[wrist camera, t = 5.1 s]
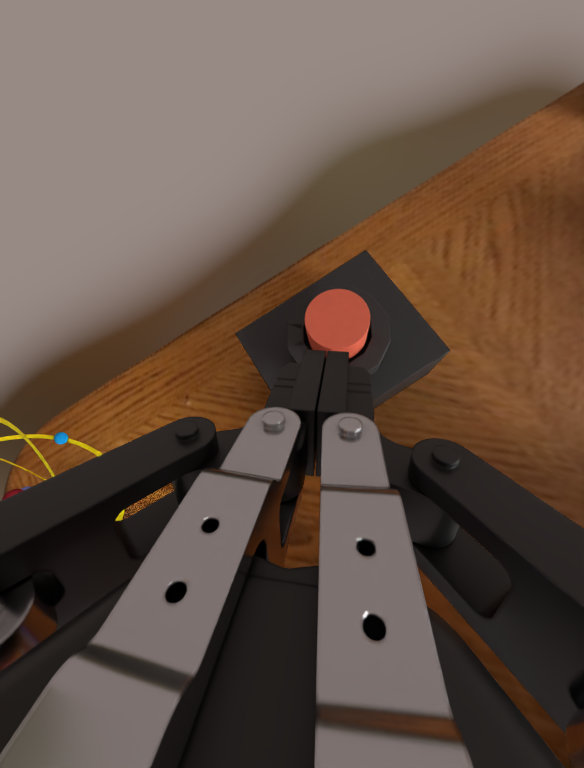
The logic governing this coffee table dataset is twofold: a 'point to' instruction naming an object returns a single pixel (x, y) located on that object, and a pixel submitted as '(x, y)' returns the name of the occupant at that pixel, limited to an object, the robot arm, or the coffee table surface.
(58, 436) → the atom model
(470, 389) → the coffee table surface
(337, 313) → the pump button
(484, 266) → the coffee table surface
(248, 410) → the coffee table surface
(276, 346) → the button base
